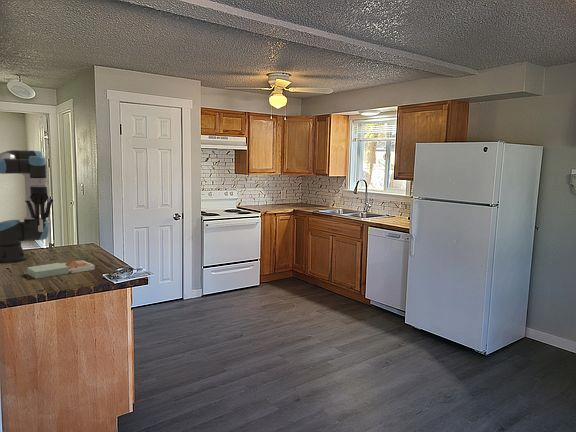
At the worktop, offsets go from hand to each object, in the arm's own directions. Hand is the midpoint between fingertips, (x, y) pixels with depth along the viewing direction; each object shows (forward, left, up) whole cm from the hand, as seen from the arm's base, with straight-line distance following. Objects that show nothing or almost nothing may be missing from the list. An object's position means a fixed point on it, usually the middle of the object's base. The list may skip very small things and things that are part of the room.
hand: (40, 231), depth 226 cm
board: (+2, +2, -22) cm, 23 cm away
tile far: (+3, +18, -19) cm, 26 cm away
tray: (+2, +17, -22) cm, 28 cm away
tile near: (+3, +14, -20) cm, 25 cm away
